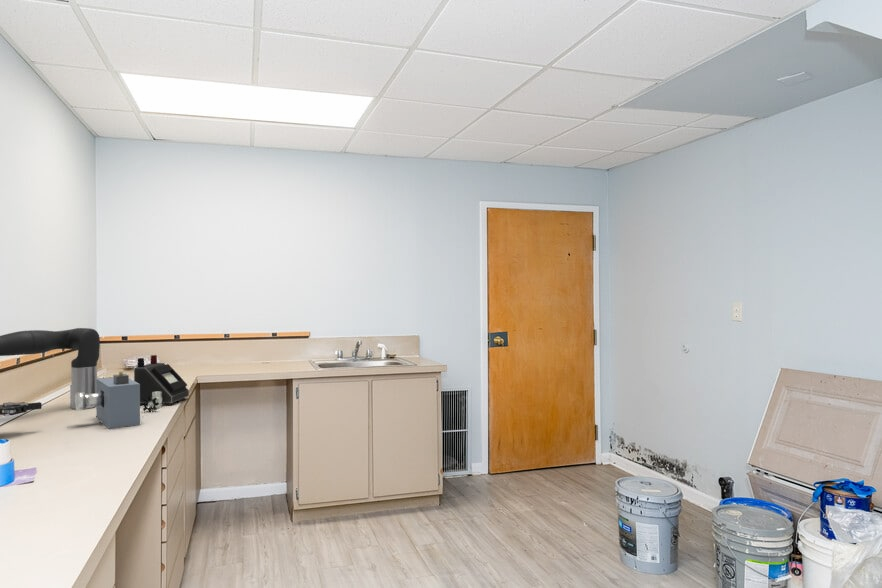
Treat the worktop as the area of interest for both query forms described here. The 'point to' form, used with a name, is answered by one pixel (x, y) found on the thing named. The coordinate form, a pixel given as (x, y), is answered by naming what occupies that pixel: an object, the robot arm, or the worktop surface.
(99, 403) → the knob
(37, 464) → the worktop surface
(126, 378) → the potentiometer
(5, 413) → the robot arm
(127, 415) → the housing
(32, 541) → the worktop surface
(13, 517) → the worktop surface
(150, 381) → the voltmeter
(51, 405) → the worktop surface
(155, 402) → the valve
